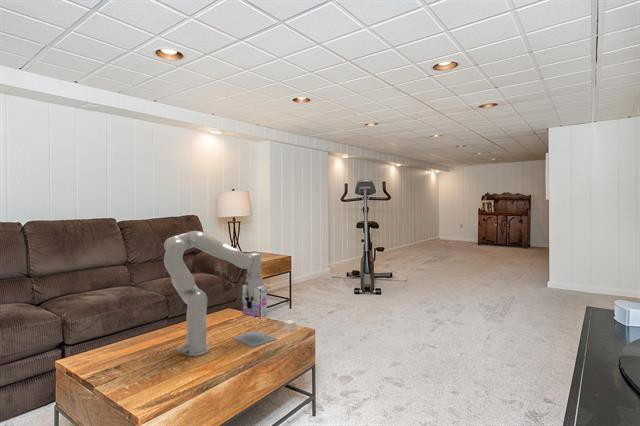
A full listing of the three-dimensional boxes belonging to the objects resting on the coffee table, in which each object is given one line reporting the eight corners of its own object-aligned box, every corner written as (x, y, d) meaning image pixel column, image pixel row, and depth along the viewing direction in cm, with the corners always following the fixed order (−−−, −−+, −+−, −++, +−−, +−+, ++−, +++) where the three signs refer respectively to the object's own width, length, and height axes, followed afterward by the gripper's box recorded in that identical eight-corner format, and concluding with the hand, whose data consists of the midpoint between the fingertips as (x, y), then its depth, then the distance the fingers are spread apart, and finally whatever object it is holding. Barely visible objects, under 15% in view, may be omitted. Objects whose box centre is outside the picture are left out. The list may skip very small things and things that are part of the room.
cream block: (289, 331, 212) (289, 323, 212) (284, 330, 215) (284, 321, 215) (296, 329, 216) (296, 321, 216) (290, 328, 219) (290, 319, 219)
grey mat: (253, 347, 188) (253, 346, 188) (231, 338, 201) (231, 337, 201) (276, 339, 199) (276, 338, 199) (255, 331, 213) (255, 330, 213)
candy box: (267, 315, 199) (267, 286, 199) (260, 318, 194) (260, 288, 194) (249, 311, 206) (249, 283, 206) (241, 314, 201) (241, 285, 201)
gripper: (245, 278, 191) (245, 311, 191) (270, 273, 204) (270, 305, 204) (237, 276, 196) (237, 309, 196) (262, 272, 209) (262, 302, 209)
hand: (254, 306), depth 200 cm, fingers closed on candy box, 6 cm apart
